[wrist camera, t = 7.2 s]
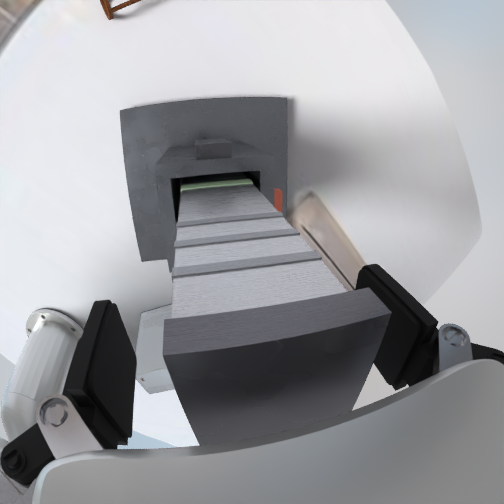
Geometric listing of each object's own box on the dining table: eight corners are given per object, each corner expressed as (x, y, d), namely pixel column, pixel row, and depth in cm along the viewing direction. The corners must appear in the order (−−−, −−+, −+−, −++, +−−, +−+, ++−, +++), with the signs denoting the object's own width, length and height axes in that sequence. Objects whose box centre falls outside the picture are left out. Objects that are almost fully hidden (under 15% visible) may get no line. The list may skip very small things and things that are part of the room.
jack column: (239, 222, 26) (339, 435, 8) (189, 227, 26) (208, 464, 7) (236, 158, 24) (393, 312, 5) (182, 163, 23) (159, 355, 4)
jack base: (281, 240, 37) (324, 300, 25) (143, 256, 34) (125, 327, 22) (282, 98, 28) (340, 90, 17) (123, 110, 25) (77, 106, 14)
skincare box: (152, 332, 39) (148, 397, 29) (139, 310, 37) (130, 376, 27) (190, 322, 40) (195, 387, 29) (178, 299, 38) (179, 365, 27)
